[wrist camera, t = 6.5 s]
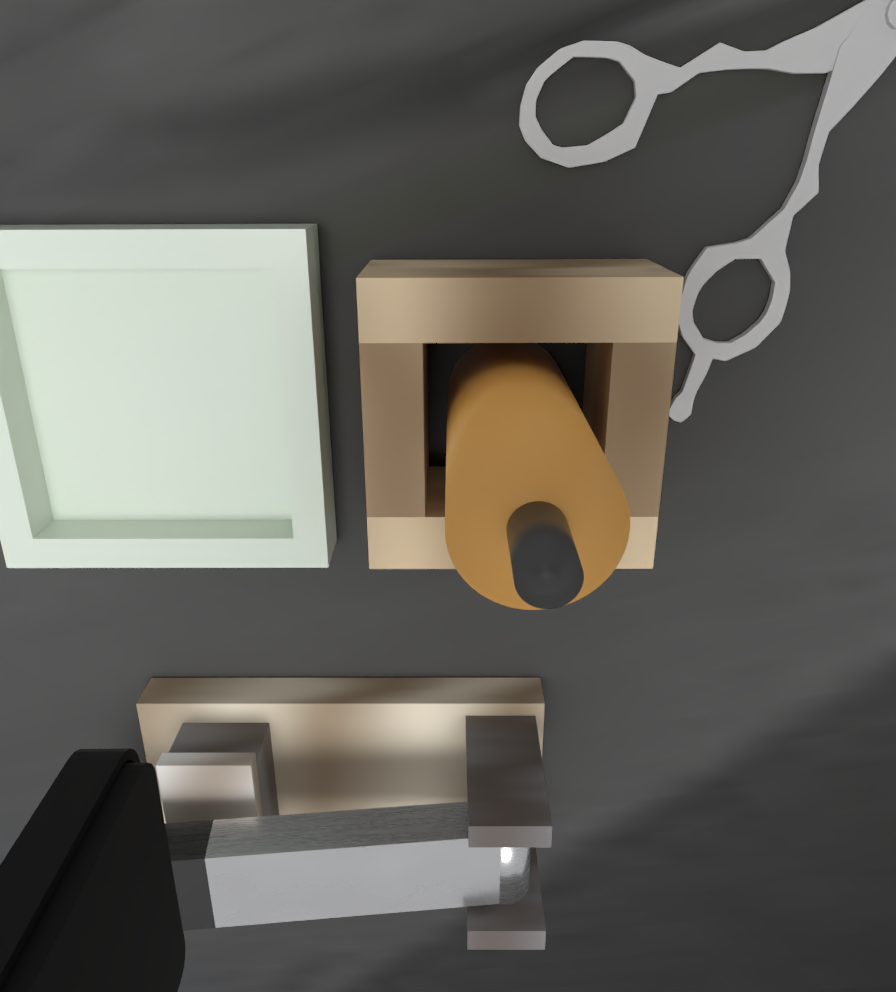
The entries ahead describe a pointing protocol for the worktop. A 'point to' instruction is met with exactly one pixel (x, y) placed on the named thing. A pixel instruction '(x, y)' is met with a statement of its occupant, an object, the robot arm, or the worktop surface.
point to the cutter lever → (337, 865)
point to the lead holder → (511, 319)
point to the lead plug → (527, 482)
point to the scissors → (851, 72)
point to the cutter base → (362, 761)
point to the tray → (164, 397)
